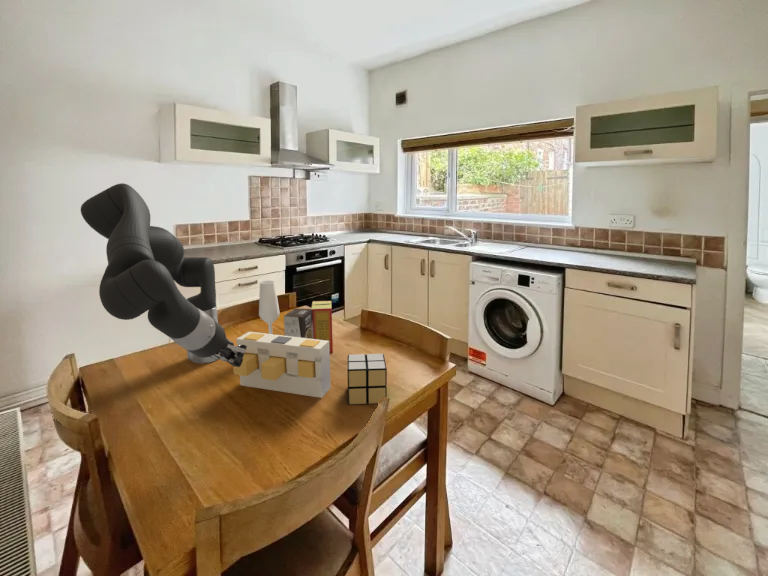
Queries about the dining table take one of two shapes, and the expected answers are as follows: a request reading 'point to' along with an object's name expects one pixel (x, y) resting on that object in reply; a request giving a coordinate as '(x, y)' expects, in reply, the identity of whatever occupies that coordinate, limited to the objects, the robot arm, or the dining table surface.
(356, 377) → the puzzle cube
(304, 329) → the coffee box
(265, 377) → the button
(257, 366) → the button
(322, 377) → the block
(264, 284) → the champagne flute
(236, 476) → the dining table surface
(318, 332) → the baking soda box
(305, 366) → the button
